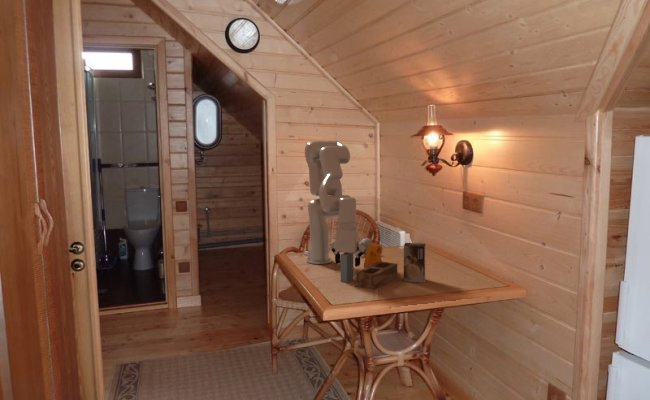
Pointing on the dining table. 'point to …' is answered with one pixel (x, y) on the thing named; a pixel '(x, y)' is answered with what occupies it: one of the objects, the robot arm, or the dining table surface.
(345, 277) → the blue gray rectangular block
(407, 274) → the coffee box
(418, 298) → the dining table surface
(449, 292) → the dining table surface
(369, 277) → the wooden compartment box
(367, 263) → the orange irregular piece
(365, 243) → the round bodied animal figurine
